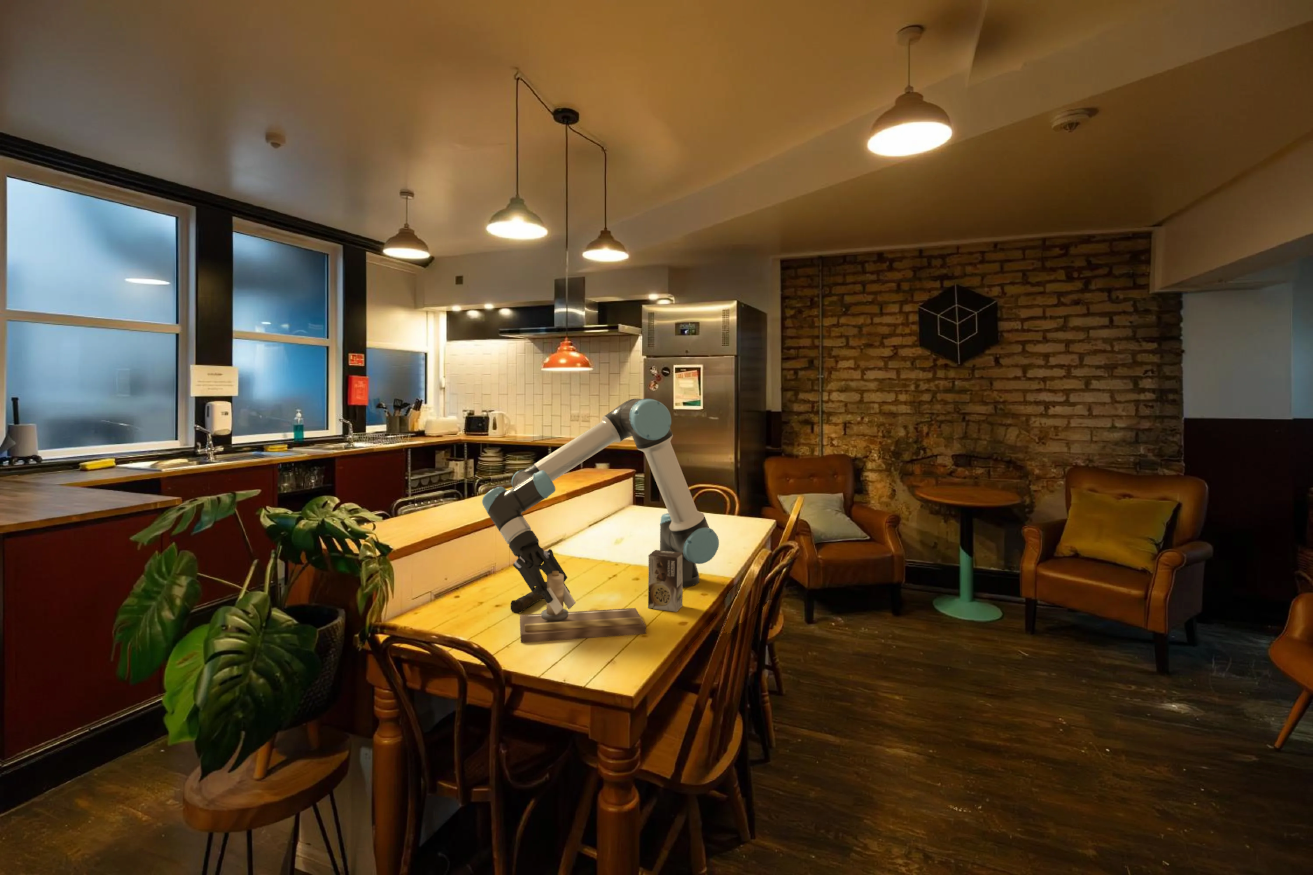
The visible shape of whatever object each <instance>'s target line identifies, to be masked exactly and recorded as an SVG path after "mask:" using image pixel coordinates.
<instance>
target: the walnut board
mask: <svg viewBox="0 0 1313 875" xmlns="http://www.w3.org/2000/svg"><path fill="white" fill-rule="evenodd" d="M519 632H520V643H533V642H549V641H560V640H561V641H562V640H574V639H576V640H577V639H590V638H603V637H605V638H606V637H615V636H617V637H619V636H633V635H645V633H646V634H647V626H646V624H645V622H644V620H643V618H642V616H641V615H640V613H639V612H638V610H637V608H636V607H628V608H627V607H626V608H613V609H597V610H594V609H593V610H581V611H580V610H579V611H568V617H567V618H566V619H564V620H560V621H548V620H544V619H542V617H541V613H532V614H531V613H529V614H520V615H519Z"/></svg>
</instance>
